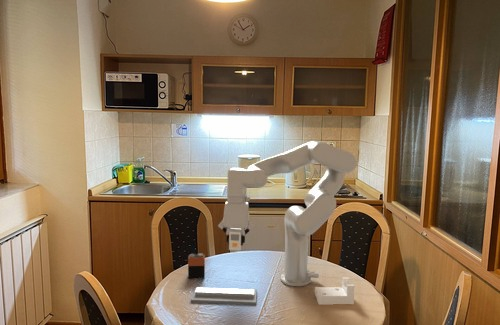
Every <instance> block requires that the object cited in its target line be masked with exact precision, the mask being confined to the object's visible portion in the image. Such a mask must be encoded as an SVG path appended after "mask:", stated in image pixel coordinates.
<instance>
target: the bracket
mask: <svg viewBox="0 0 500 325" xmlns="http://www.w3.org/2000/svg"><path fill="white" fill-rule="evenodd" d="M341 279H342V281H341V287H339V286H337V287H336V286H335V287H334V286H333V287H331V286H329V287H327V286H324V287H323V286H320V287H319V286H315V287H314V295H315V297H316V302H317V304H318V305H333V304H354V302H355V284H351V278H350V277H347V276H346V277H341Z"/></svg>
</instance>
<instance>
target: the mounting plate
mask: <svg viewBox="0 0 500 325" xmlns="http://www.w3.org/2000/svg"><path fill="white" fill-rule="evenodd" d="M196 288H202V287H200V286H199V287H195V288H194V291H193V293H192V296H191V298H190V303H198V304H201V303H202V304H226V305H227V304H228V305H248V306H249V305H252V306H256V305H257V293H258V292H257V290H258V289H254V288H253V289H252V288H248V289H249V290H254V298H245V297H219V296H195V291H196ZM223 289H229V288H227V287H226V288H225V287H223Z"/></svg>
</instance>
